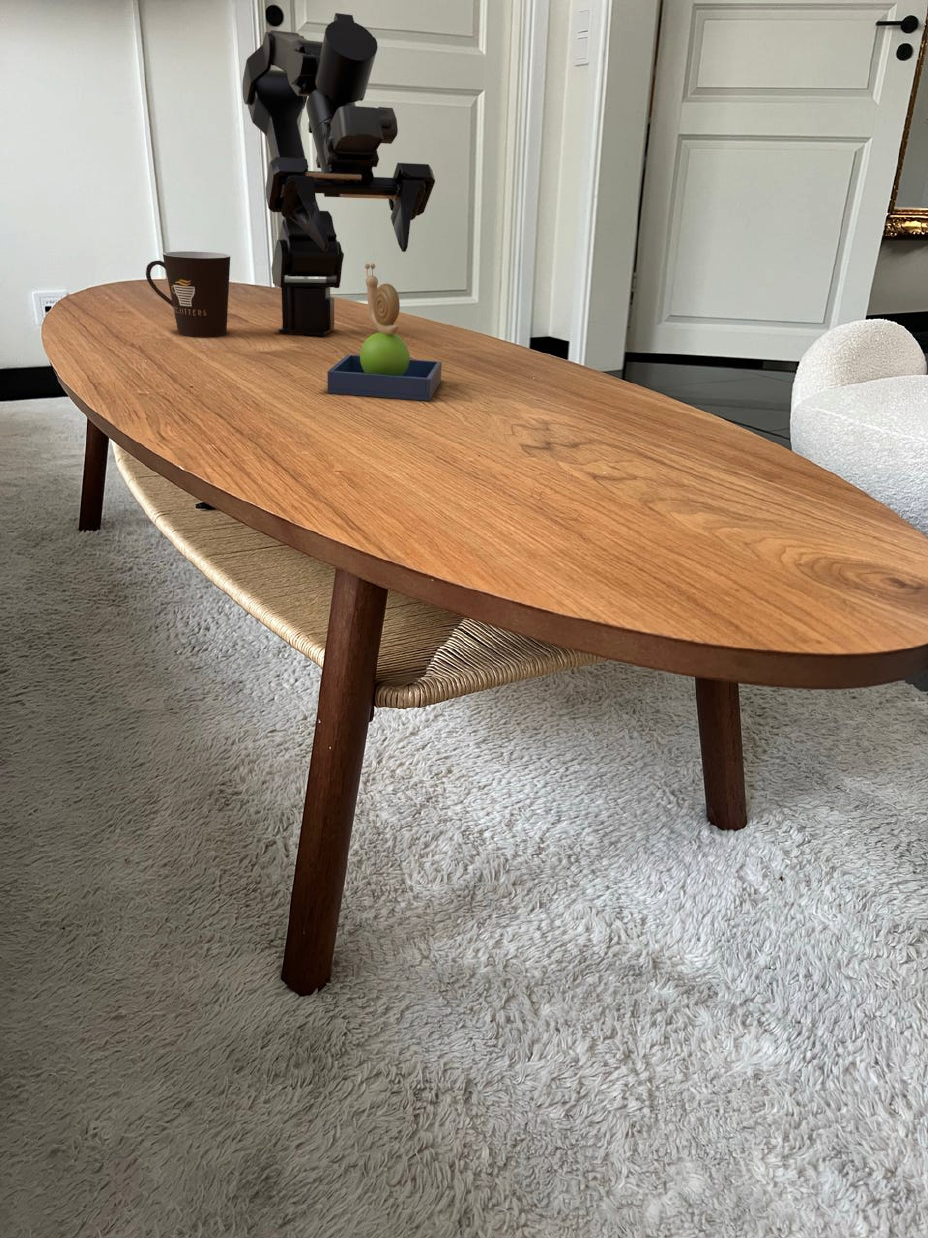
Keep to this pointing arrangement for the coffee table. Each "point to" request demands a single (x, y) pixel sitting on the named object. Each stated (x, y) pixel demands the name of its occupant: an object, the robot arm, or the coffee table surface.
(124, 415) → the coffee table surface
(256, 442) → the coffee table surface
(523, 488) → the coffee table surface
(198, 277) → the coffee mug
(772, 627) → the coffee table surface
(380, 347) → the snail figurine
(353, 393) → the blue tray
